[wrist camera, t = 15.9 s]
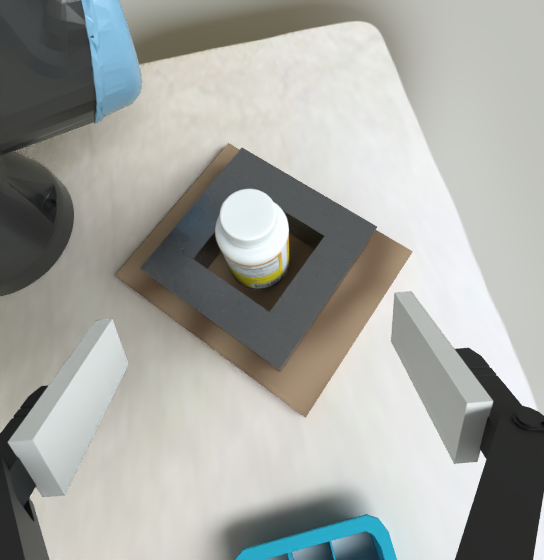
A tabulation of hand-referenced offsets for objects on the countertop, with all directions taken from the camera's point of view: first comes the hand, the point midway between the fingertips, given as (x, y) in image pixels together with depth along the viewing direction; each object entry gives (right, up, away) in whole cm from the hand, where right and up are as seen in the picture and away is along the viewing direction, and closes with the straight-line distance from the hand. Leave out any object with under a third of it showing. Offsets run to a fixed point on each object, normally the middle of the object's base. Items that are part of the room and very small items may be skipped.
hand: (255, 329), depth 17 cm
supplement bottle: (0, +4, +18) cm, 18 cm away
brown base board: (0, +4, +18) cm, 19 cm away
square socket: (0, +4, +18) cm, 19 cm away
